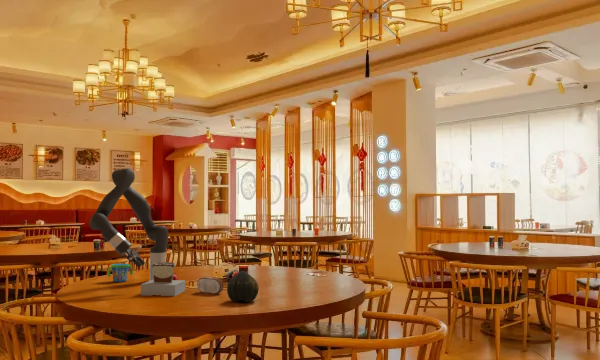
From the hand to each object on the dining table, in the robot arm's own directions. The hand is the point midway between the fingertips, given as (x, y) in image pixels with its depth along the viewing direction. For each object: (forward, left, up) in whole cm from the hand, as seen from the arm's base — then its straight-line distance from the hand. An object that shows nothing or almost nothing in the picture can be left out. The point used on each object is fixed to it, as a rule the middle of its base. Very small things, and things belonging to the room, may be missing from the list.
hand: (142, 265), depth 268 cm
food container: (+1, +12, -9) cm, 15 cm away
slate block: (+2, +12, -15) cm, 19 cm away
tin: (+5, +36, -14) cm, 39 cm away
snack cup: (-40, -20, -14) cm, 47 cm away
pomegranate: (-19, +12, -14) cm, 26 cm away
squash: (+28, +53, -14) cm, 61 cm away
